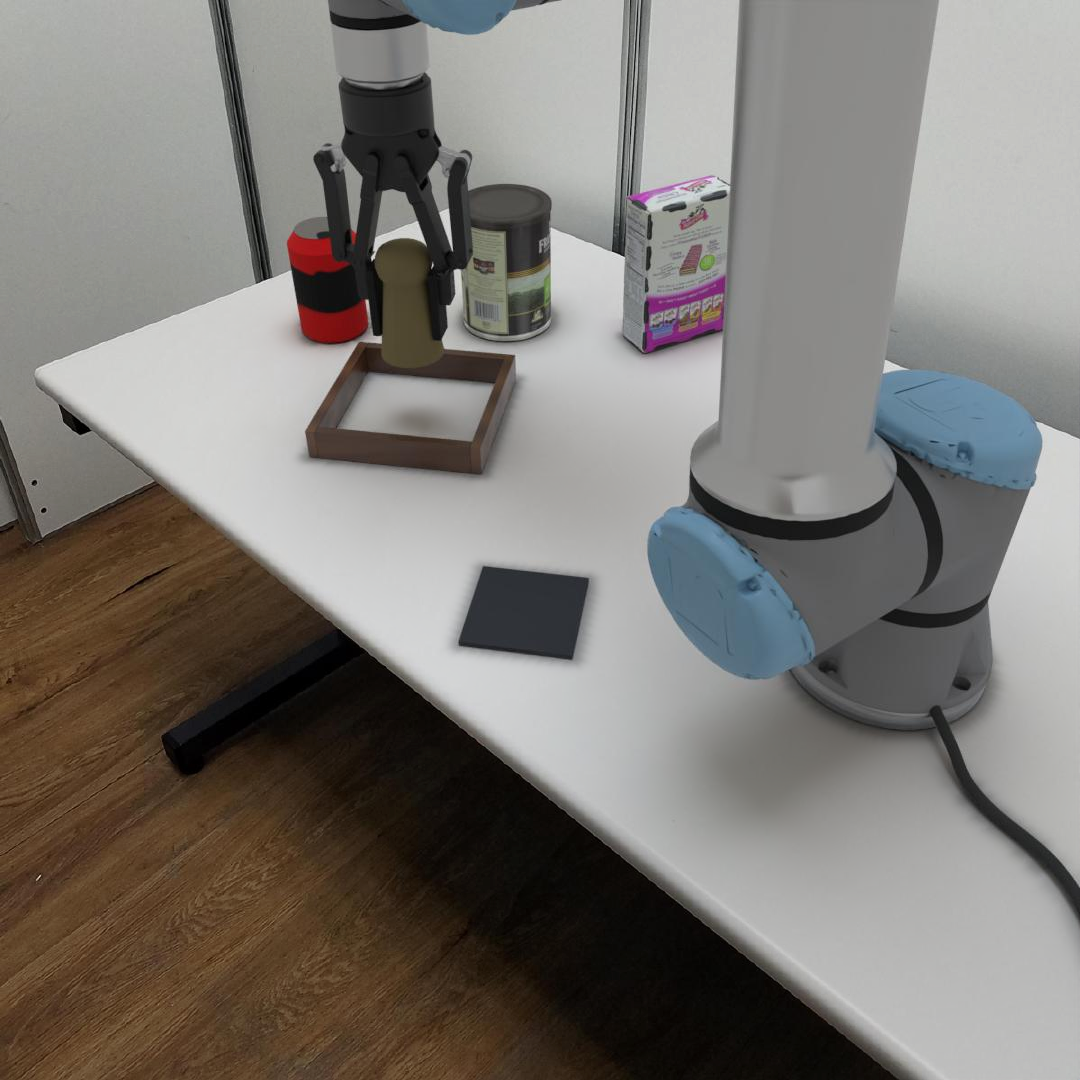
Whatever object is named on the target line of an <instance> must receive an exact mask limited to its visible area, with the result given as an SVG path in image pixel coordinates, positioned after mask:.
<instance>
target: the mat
mask: <svg viewBox="0 0 1080 1080" xmlns="http://www.w3.org/2000/svg"><path fill="white" fill-rule="evenodd" d="M588 585H589V577H584V576H575V575H568V574H557V573H551V572H550V573H549V572H541V571H540V572H539V571H531V570H524V569H523V570H522V569H513V568H505V567H498V566H497V567H495V566H486V565H483V566H482V568H481V571H480V574H479V577H478V579H477V582H476V587H475V589H474V592H473V596H472V598H471V601H470V605H469V608H468V610H467V614H466V617H465V620H464V623H463V626H462V629H461V632H460V636H459V639H458V646H465V647H472V648H481V649H489V650H496V651H505V652H513V653H520V654H529V655H537V656H545V657H551V658H552V657H554V658H563V659H569V660H573V657H574V654H575V648H576V643H577V638H578V634H579V628H580V623H581V619H582V615H583V609H584V606H585V599H586V595H587V590H588V587H589V586H588Z"/></svg>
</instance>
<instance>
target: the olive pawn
mask: <svg viewBox="0 0 1080 1080" xmlns="http://www.w3.org/2000/svg"><path fill="white" fill-rule="evenodd" d="M374 259H375V261H374V263H375V269H376V271H377V274H378V276H379V278H380V279H381V280H382V281H383V303H382V335H381V344H382V350H381V355H382V358H383V360H384V361H386V362H387V363H388V364H390V365H393V366H395V367H401V368H418V367H424V366H427V365H430V364H432V363H434V362H436V361H437V360H439V359H440V358H441V357H442V355H443V354H444V349H445V347H444V342H443V339H442V340H441V341H436V340H433V332H432V321H431V309H430V298H429V287H428V274H429V273H430V271H431V269H432V267H433V262H432V260H431V257H430V254H429V251H428V248H427V246H426V243H425V242H422V241H421V240H418V239H415V238H409V237H399V238H393V239H390V240H387V241H385V242H384V243H382V244H381V245H380V246H379V247H378V248H377V250H376V251H375V255H374Z"/></svg>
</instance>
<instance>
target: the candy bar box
mask: <svg viewBox="0 0 1080 1080" xmlns="http://www.w3.org/2000/svg"><path fill="white" fill-rule="evenodd" d="M729 198H730V183H728V182H727V181H724V180H723V179H720V177H719V176H716V175H712V174H711V175H707V176H703V177H699V178H696V179H691V180H687V181H683V182H680V183H675V184H670V185H667V186H663V187H659V188H656V189H652V190H651V189H650V190H647V191H644V192H639V193H636V194H635V193H634V194H632V195H627V196H626V198H625V201H626V202H625V229H624V230H625V233H624V235H625V236H624V239H625V240H624V270H623V301H622V302H623V303H622V304H623V305H622V336H623V338H624V339H626V341H628V342H629V343H631V344H632V345H633V346H635V347H636V348H637V349H638V350H639V351H640V352H642V353H643V354H647V353H648V354H649V353H651V352H654V351H657V350H661V349H664V348H667V347H670V346H673V345H674V346H675V345H676V344H677V345H678V344H680V343H683V342H686V341H689V340H693V339H695V338H698V337H702V336H705V335H708V334H711V333H714V332H718V331H721V330H723V319H724V299H725V279H726V259H727V239H728V218H729Z"/></svg>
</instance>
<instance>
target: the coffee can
mask: <svg viewBox="0 0 1080 1080" xmlns="http://www.w3.org/2000/svg"><path fill="white" fill-rule="evenodd" d="M468 194H469V207H470V219H471V231H472V244H473V255H472V257H471V259H470V261H469V263H468V265H467V267H466V268H465V269H464V270H460V279H461V293H462V307H463V317H462V320H463V325H464V327H465V329H466V330H467V331H468V332H470V333H471V334H473V335H474V336H476V337H479V338H481V339H485V340H489V341H493V342H494V341H495V342H516V341H524V340H528V339H530V338H534V337H536V336H538V335H540V334H542V333H543V332H545V331H546V330H547V329H548V328H549V327H550V325H551V324H552V320H553V316H552V299H551V298H552V293H551V292H552V291H551V290H552V284H551V283H552V281H551V278H552V277H551V273H552V272H551V271H552V270H551V269H552V267H551V264H552V263H551V262H552V257H551V256H552V255H551V254H552V250H551V249H552V248H551V244H552V242H551V238H552V237H551V232H552V231H551V226H552V225H551V222H552V221H551V219H552V218H551V215H552V214H551V211H552V205H553V203H552V198H551V196H550V195H549V194H548V193H546V192H545V191H543V190H541V189H539V188H537V187H533V186H529V185H525V184H517V183H494V184H487V185H481V186H478V187H475V188H474V187H473V188H472V189H468Z"/></svg>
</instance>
